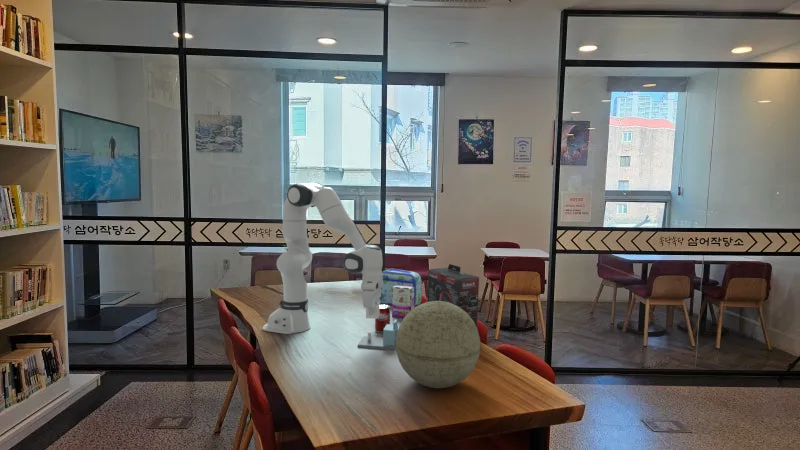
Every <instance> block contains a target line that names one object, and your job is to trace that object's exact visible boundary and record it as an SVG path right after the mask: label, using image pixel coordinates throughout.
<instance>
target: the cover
mask: <svg viewBox="0 0 800 450" xmlns="http://www.w3.org/2000/svg"><path fill="white" fill-rule="evenodd" d="M398 329H399V325H398V319H394V321H393V323H392V324H391V323H390V324H387V325H386V326H385V328H384V330H383V333H382V338H383V345H393V346H394V345H395V340H396V336H397V332H398Z"/></svg>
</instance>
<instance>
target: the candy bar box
mask: <svg viewBox="0 0 800 450" xmlns="http://www.w3.org/2000/svg"><path fill="white" fill-rule="evenodd" d="M414 308H415V306H414V287H409V286H398V285H395V286H393V287H392V305H391V317H393V318H399V319H400V318H401V319H404V317H405V316H406V315H407V314H408V313H409V312H410V311H411V310H412V309H414Z"/></svg>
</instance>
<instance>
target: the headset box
mask: <svg viewBox="0 0 800 450" xmlns="http://www.w3.org/2000/svg"><path fill="white" fill-rule="evenodd" d="M427 279H428V280H427V302H431V301H443V302H448V303H452V304H454V305H456V306H458V307H460V308H461V309H462V310H464V311H465V312H466V313H467V314H468V315H469V316H470V317H471V319H472V320H473V321H474V323H475V325H476V327H477V328H478V314H479V313H478V312H479V311H478V310H479V308H478V307H479V288H480V277H479V276H478V275H473V274H469V273H466V272H463V271H461V266H458V265H454V264H451V263H449V265H448V267H444V268H443V267H442V268H440V267H439V268H431V269H428V277H427Z"/></svg>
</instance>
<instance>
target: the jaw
mask: <svg viewBox="0 0 800 450" xmlns="http://www.w3.org/2000/svg"><path fill="white" fill-rule="evenodd" d="M380 305H381V304H378V303H377V304H374V306H373V315H369V311H368V308H365V318H366V319H374V320H375V319H377V318H378V317H379V316H380Z"/></svg>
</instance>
